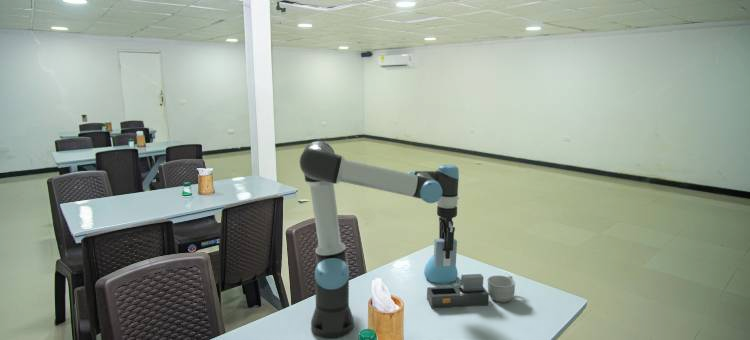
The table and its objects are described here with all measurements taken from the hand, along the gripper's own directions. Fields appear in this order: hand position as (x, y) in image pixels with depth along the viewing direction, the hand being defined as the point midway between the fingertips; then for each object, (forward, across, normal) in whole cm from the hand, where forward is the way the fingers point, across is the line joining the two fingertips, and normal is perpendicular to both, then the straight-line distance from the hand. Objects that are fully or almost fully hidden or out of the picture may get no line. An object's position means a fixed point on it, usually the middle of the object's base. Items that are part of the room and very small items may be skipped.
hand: (445, 263), depth 160 cm
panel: (0, 0, 0) cm, 0 cm away
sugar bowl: (+17, +22, -5) cm, 29 cm away
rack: (+17, +1, -6) cm, 18 cm away
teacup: (+18, +3, -26) cm, 31 cm away
